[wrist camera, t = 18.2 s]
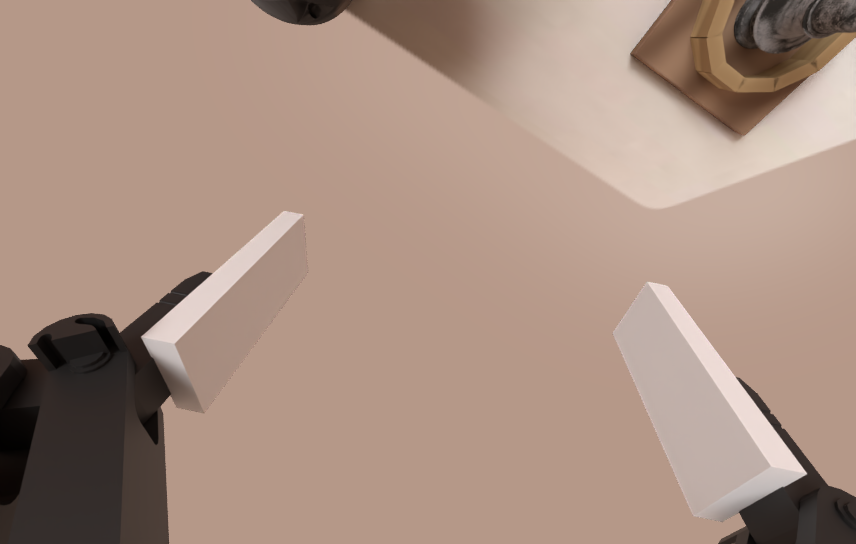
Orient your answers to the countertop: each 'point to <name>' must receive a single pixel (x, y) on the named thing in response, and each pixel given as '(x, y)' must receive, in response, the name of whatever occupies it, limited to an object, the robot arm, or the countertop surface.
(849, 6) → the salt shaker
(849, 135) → the countertop surface
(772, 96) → the collar stand
